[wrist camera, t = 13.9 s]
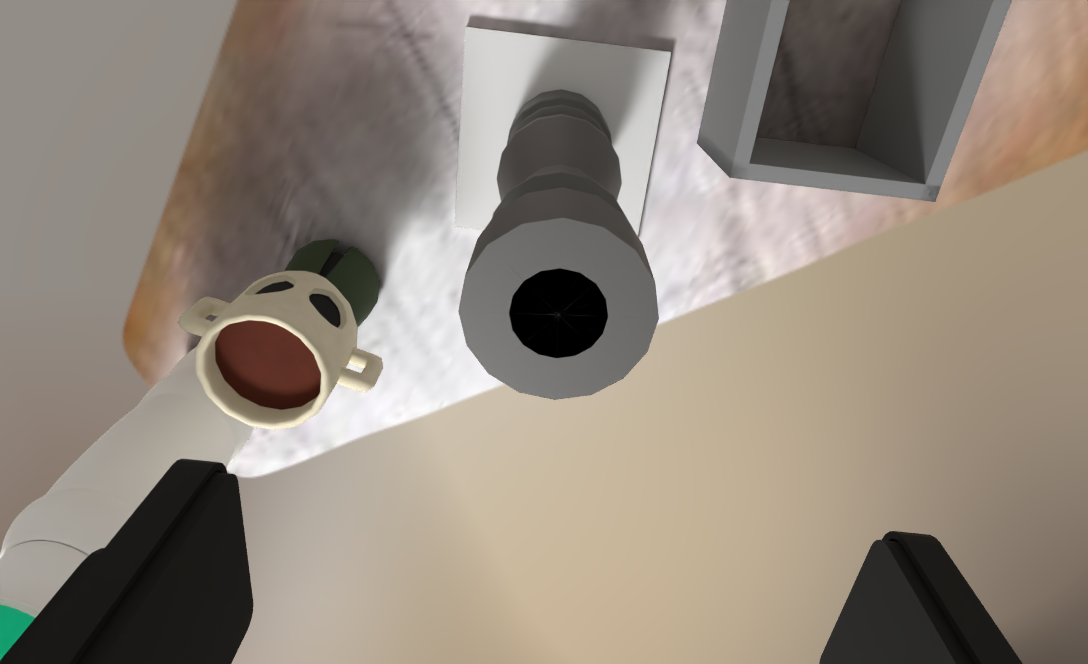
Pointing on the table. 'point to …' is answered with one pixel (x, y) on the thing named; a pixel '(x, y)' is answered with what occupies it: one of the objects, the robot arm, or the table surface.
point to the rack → (893, 112)
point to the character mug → (287, 338)
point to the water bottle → (109, 490)
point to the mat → (546, 65)
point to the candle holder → (559, 260)
